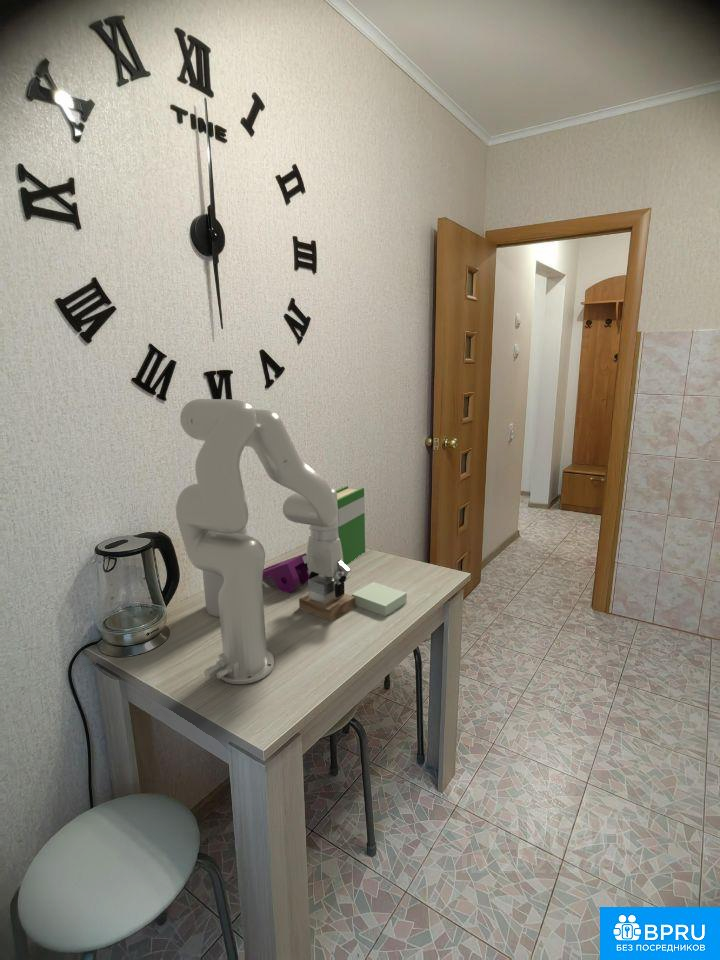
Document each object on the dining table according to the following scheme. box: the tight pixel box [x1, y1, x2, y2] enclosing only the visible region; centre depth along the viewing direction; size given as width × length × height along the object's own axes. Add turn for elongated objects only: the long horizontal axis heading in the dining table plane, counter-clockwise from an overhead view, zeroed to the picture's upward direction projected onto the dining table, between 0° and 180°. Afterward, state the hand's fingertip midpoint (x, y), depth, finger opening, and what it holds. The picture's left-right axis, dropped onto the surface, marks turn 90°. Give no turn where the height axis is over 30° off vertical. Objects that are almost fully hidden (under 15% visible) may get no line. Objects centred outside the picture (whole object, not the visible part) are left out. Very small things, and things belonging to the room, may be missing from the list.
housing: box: [307, 574, 344, 606], centre depth 137 cm, size 8×6×7 cm
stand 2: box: [351, 581, 407, 617], centre depth 140 cm, size 10×12×3 cm
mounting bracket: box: [262, 552, 310, 593], centre depth 154 cm, size 10×8×18 cm
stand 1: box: [298, 592, 356, 622], centre depth 138 cm, size 10×12×3 cm
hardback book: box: [335, 485, 366, 566], centre depth 170 cm, size 18×7×24 cm, turn 151°
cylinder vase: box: [202, 525, 248, 618], centre depth 136 cm, size 12×12×25 cm
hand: (326, 590), depth 137 cm, fingers open, 9 cm apart
